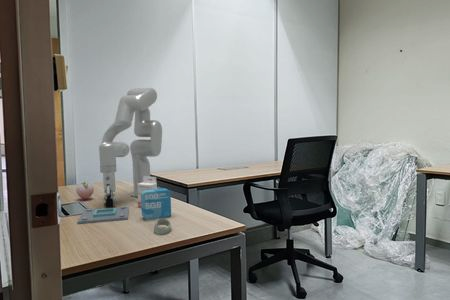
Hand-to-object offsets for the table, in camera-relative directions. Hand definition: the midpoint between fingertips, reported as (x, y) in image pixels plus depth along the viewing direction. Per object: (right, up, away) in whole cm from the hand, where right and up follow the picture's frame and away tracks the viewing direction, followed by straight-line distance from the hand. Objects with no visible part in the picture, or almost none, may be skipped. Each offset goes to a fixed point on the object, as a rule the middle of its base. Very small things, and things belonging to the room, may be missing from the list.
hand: (110, 205), depth 170 cm
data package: (+27, -2, -20) cm, 33 cm away
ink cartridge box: (+19, -1, -1) cm, 19 cm away
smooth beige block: (0, -1, 0) cm, 1 cm away
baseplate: (+3, -2, -16) cm, 16 cm away
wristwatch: (+33, -4, -39) cm, 51 cm away
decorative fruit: (-19, 0, +18) cm, 26 cm away
